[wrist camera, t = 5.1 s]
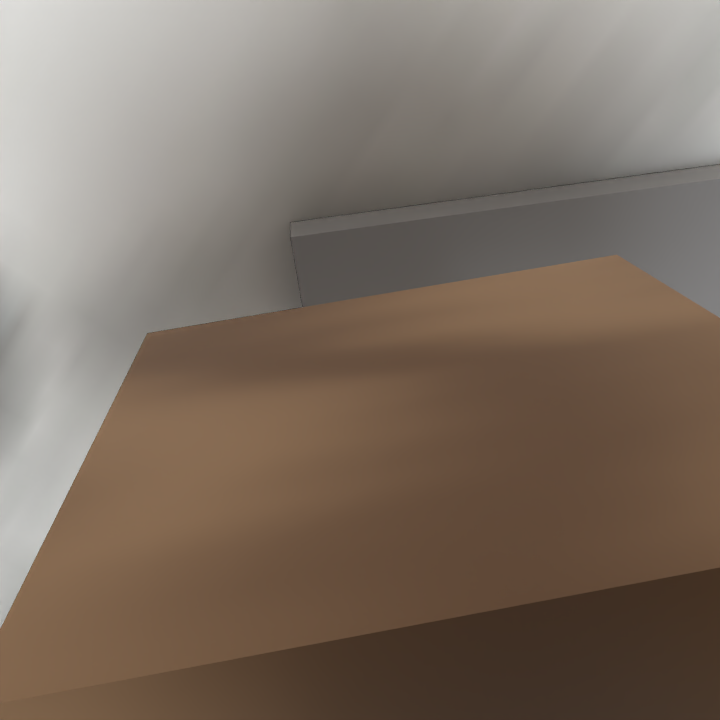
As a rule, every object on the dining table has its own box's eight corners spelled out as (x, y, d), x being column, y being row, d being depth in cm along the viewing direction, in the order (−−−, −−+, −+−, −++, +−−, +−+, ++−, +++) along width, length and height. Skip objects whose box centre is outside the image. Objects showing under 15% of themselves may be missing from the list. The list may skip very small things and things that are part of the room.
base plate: (351, 584, 25) (355, 618, 23) (290, 222, 17) (290, 239, 15) (705, 526, 25) (731, 556, 24) (805, 152, 18) (853, 162, 16)
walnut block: (254, 637, 11) (232, 1035, 6) (147, 333, 8) (-42, 711, 3) (587, 574, 11) (784, 919, 7) (616, 255, 8) (1030, 508, 3)
